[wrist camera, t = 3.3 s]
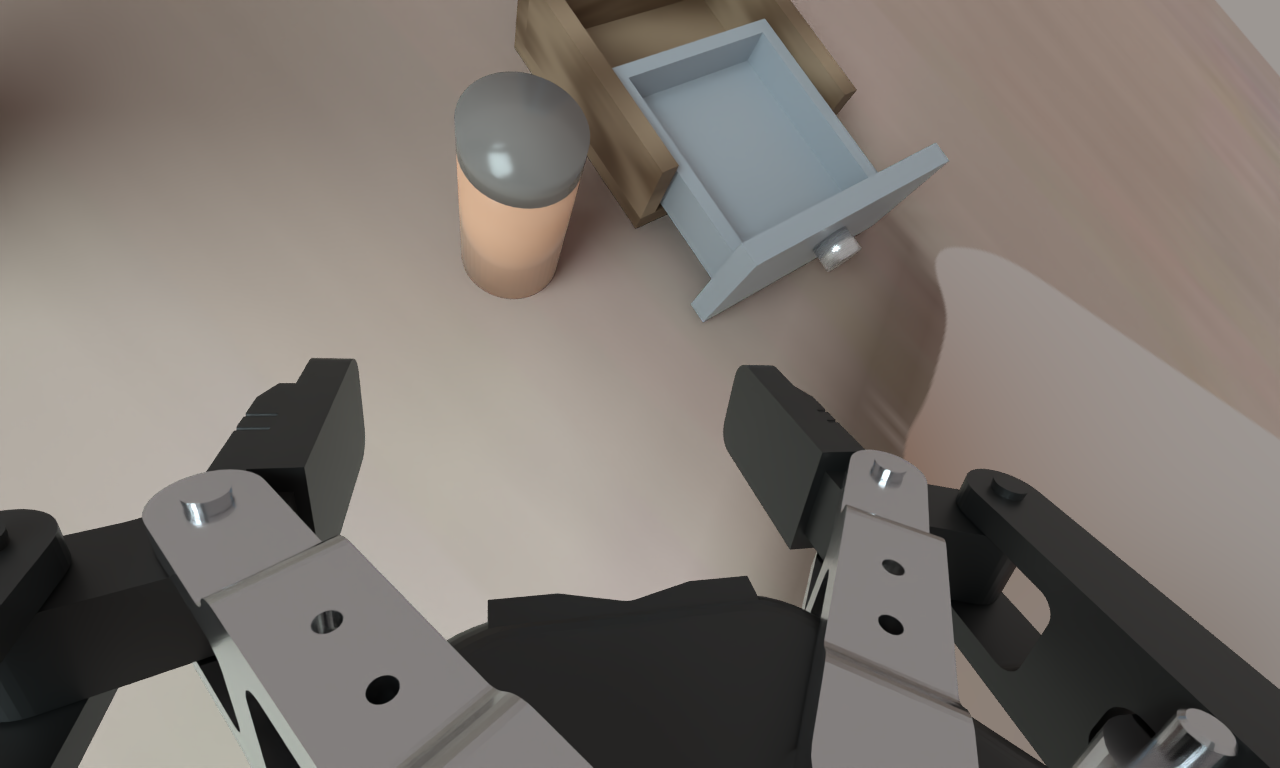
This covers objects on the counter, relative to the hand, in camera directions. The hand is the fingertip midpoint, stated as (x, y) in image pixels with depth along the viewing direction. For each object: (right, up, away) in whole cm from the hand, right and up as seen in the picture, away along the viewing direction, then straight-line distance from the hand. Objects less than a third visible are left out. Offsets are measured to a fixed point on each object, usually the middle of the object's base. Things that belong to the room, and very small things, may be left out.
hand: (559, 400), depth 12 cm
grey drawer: (+7, +12, +22) cm, 26 cm away
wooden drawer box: (+4, +18, +23) cm, 29 cm away
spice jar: (-5, +7, +17) cm, 19 cm away
